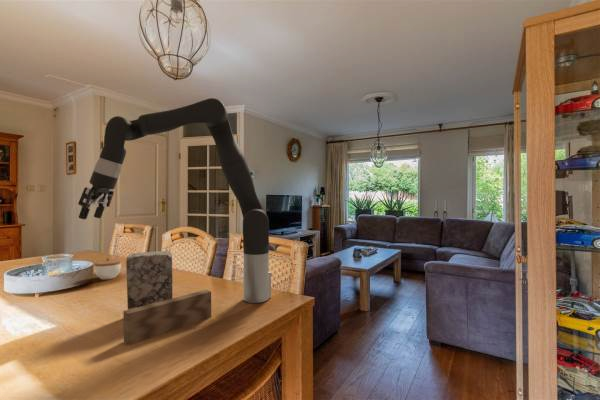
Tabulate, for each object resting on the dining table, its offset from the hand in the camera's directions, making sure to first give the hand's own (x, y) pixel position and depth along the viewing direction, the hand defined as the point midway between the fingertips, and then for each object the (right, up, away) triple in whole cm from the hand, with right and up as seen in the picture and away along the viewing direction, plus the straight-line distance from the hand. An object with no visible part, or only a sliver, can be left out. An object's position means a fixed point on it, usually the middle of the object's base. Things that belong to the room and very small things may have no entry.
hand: (90, 218), depth 102 cm
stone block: (+24, -31, -6) cm, 40 cm away
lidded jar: (-19, -31, +39) cm, 53 cm away
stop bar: (+35, -31, -16) cm, 49 cm away
